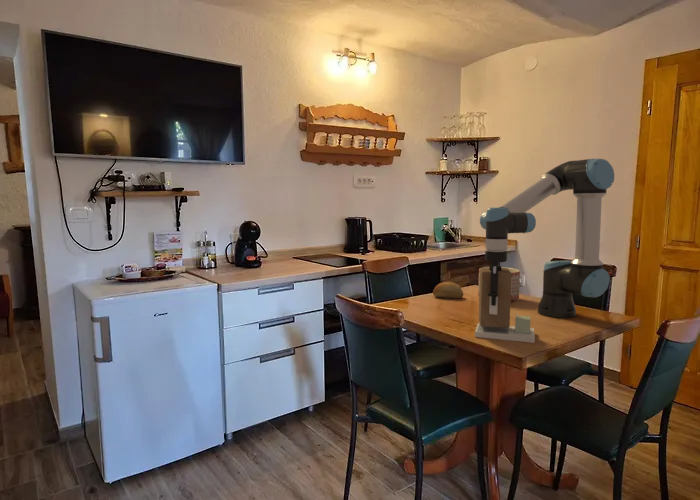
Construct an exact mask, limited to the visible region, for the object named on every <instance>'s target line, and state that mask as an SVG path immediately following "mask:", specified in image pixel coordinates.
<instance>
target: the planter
mask: <svg viewBox="0 0 700 500" xmlns="http://www.w3.org/2000/svg"><path fill="white" fill-rule="evenodd" d="M482 268H490V266H485V267H482ZM501 268H507V269H508V270H509V271H510V272H511V300H510V303H513V302H514V301H516V300H518V299H519V298H520V282H521V281H520V279H521V277H520V276H521V270H520V269H518V268H513V267H504V266H501ZM479 288H480V268H479V269H478V291H477V295H478V297H479Z"/></svg>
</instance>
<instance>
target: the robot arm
mask: <svg viewBox="0 0 700 500" xmlns="http://www.w3.org/2000/svg"><path fill="white" fill-rule="evenodd" d="M614 181H615V170H614V168H613V165H612V164H611V163H610V162H609V161H608V160H607V159H604V158H588V159H587V158H586V159H578V160H569V161H565V162H563V163H561V164H559V165H557V166H555V167H553V168H552V169H550V170H548V171H547V172H546V173H544V174H542V175H541V176H540V179H539V180H537V181H536V182H535V183H534V184H531V185H530V186H529V187H527V188H525V189H524V190H523V191H521V192H520V193H518V194H517V195H515V196H514V197H512V198H511V199H509V200H508V201H506V202H505V203H504V204H502V205H501V206H498V207H489V208H487V209H486V211H485V212H483V213H482V214H481V215H480V218H479V224H480V226H481V228H483V230H485V240H484V241H483V244H485V253H484V260H485V262H488V263H491V265H490V266H489V267H490V271H491V281H490V294H488V296H490V305H489V314H495V315H497V308H498V271H501V267H502V266H501V263H506V262H507V261H508V260H507V259H508V252H507V251H506V250H508V237H509V236H508V235H509V234H527V233H528V234H529V233H532V232H533V231H534V230H535V228H536V224H537V220H536V217H535V215H534V214H533V213H531V212H528V211H529V210H531V209H532V208H534V207H536V206H538V205H539V203H541V202H543V201H544V200H546V199H548V198H549V197H550V196H556V195H557V194H559V193H560V192H563V191H570V190H572V195H573V196H575V198H576V199H577V200H576V221H575V224H576V225H575V226H576V227H575V246H574V247H575V250H574V258H573V260H553V261H552V260H550V261H546V262H545V263H544V266H543V270H542V271H543V272H542V273H543V278H542V280H543V281H542V283H543V284H542V296H541V298H540V302H539V304H538V306H537V313H538V314H540V315H542V316H545V317H552V318H559V319H560V318H562V319H564V318H565V319H570V318H574V317H577V316H576V315H577V309H576V306H575V302H574V298H573V294H574V295H579V296H583V297H586V298H598V297H600V296H602V295H604V293H605V292H606V291H607V290H608V288H609V285H610V281H611V279H610V277H611V276H610V274H609V272H608V271H607V270H606V269H604V262H602V260H601V259H600V247H601V245H600V244H601V224H602V223H601V221H602V202H603V201H602V200H603V197H604V196H605V195H606V194H607V190H608V189H609V188H611V187H612V185H613V183H614Z"/></svg>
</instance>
